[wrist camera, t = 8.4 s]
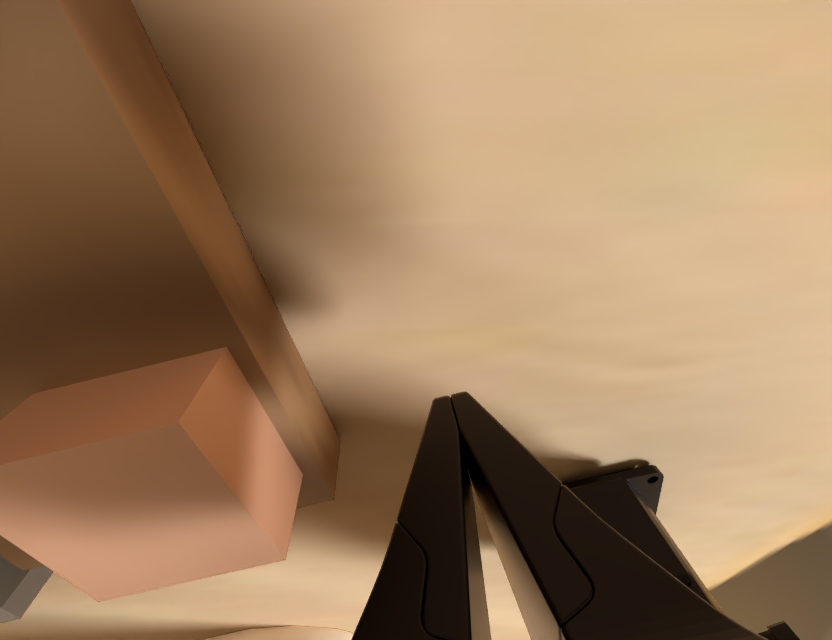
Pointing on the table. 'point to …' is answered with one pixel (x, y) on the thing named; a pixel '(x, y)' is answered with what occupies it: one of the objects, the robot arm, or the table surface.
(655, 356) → the table surface
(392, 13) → the table surface
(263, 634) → the canister
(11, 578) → the grey tray
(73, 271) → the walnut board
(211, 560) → the terracotta tile
